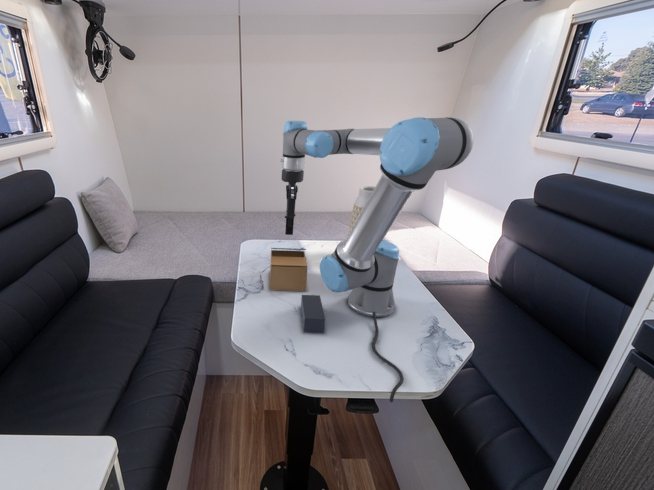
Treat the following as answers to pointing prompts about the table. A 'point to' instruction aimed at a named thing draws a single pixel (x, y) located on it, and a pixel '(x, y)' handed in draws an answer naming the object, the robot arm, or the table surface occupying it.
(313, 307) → the case
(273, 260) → the carton
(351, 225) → the vase
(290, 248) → the flap
